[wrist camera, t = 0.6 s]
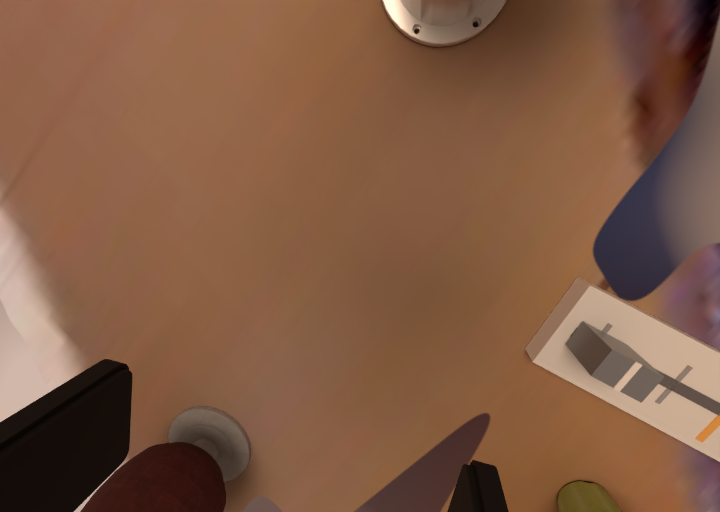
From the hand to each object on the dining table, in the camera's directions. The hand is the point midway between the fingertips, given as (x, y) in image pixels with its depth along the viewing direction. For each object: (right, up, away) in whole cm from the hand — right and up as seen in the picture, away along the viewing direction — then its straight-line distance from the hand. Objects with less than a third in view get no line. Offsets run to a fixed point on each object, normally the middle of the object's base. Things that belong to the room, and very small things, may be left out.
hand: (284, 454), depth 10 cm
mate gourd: (-19, -21, +43) cm, 52 cm away
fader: (+26, -4, +28) cm, 39 cm away
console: (+35, -7, +31) cm, 47 cm away
